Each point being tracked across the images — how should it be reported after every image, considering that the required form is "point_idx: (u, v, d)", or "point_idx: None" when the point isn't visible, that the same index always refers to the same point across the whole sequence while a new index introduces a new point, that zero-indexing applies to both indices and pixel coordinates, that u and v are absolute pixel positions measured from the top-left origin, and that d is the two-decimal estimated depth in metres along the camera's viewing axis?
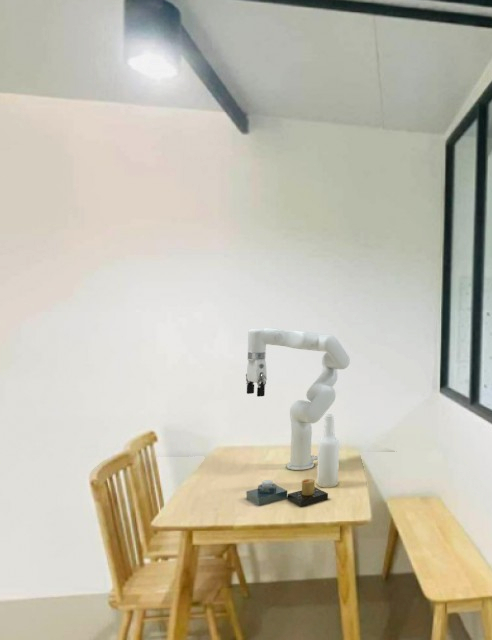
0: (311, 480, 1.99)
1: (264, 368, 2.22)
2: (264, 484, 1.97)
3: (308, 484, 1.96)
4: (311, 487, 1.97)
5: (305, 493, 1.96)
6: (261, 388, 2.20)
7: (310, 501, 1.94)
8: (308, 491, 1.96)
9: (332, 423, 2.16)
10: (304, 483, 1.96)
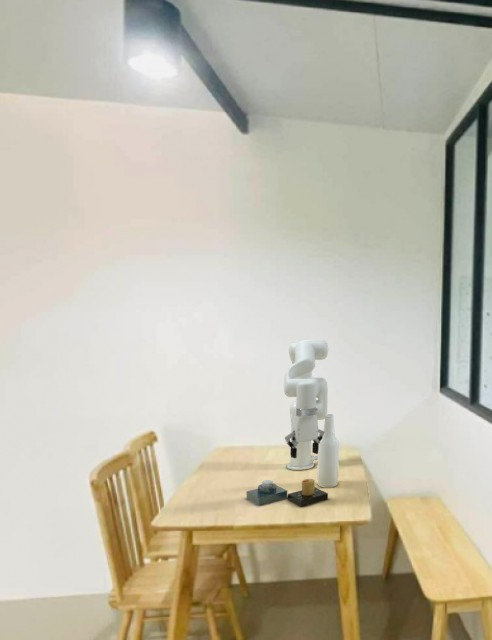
0: (311, 480, 1.99)
1: None
2: (264, 484, 1.97)
3: (308, 484, 1.96)
4: (311, 487, 1.97)
5: (305, 493, 1.96)
6: None
7: (310, 501, 1.94)
8: (308, 491, 1.96)
9: (332, 423, 2.16)
10: (304, 483, 1.96)
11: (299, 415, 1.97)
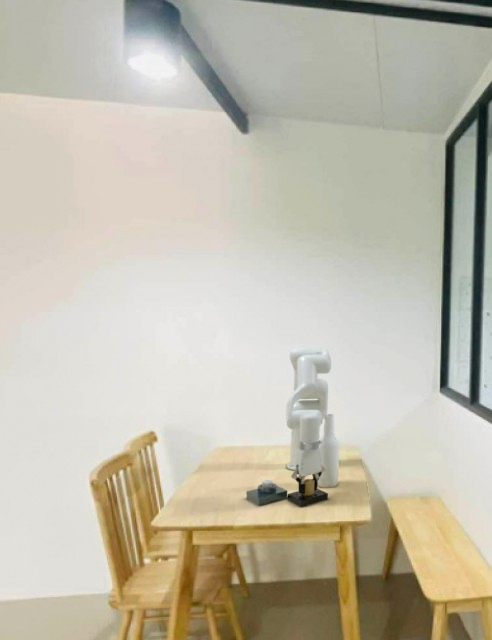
0: (311, 480, 1.99)
1: None
2: (264, 484, 1.97)
3: (308, 484, 1.96)
4: (311, 487, 1.97)
5: (305, 493, 1.96)
6: None
7: (310, 501, 1.94)
8: (308, 491, 1.96)
9: (332, 423, 2.16)
10: (304, 483, 1.96)
11: (303, 449, 1.95)
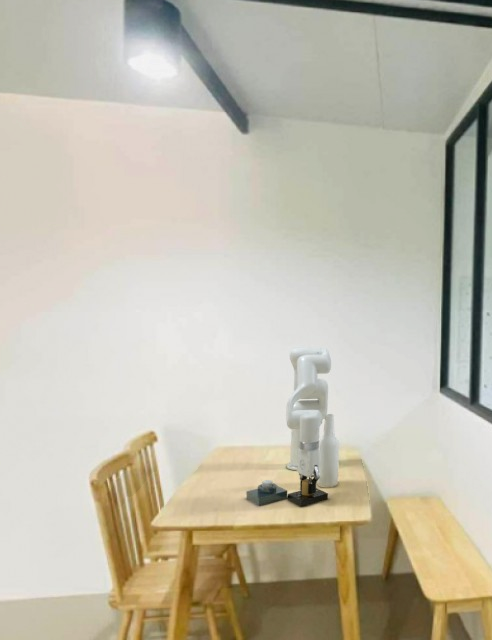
0: (307, 479, 1.99)
1: None
2: (264, 484, 1.97)
3: None
4: None
5: None
6: None
7: (310, 501, 1.94)
8: None
9: (332, 423, 2.16)
10: None
11: (316, 448, 1.97)
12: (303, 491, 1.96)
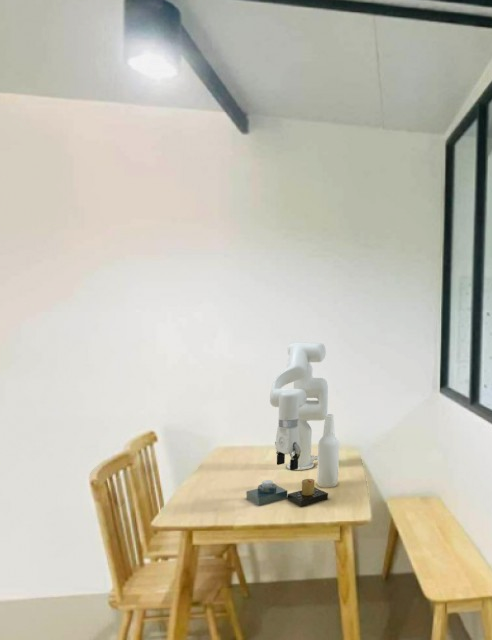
0: (307, 479, 1.99)
1: None
2: (264, 484, 1.97)
3: None
4: None
5: (313, 491, 1.98)
6: None
7: (310, 501, 1.94)
8: None
9: (332, 423, 2.16)
10: (313, 482, 1.97)
11: (295, 426, 1.97)
12: (303, 491, 1.96)
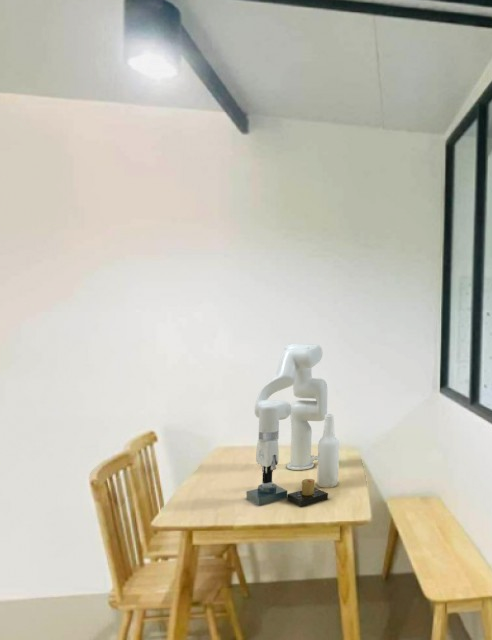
0: (307, 479, 1.99)
1: None
2: (264, 484, 1.97)
3: None
4: None
5: (313, 491, 1.98)
6: None
7: (310, 501, 1.94)
8: None
9: (332, 423, 2.16)
10: (313, 482, 1.97)
11: (275, 438, 1.97)
12: (303, 491, 1.96)
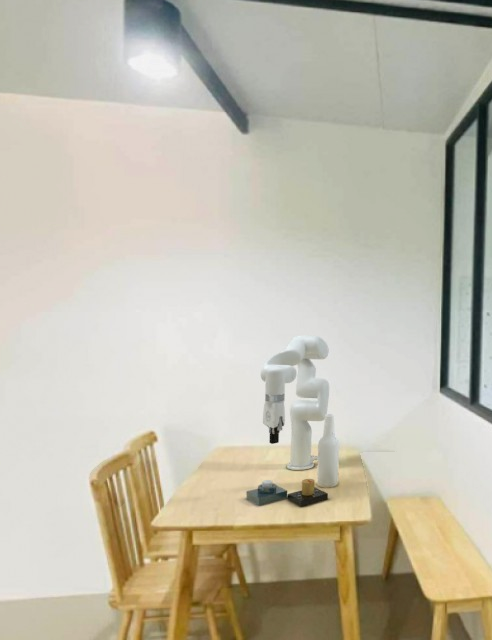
0: (307, 479, 1.99)
1: None
2: (264, 484, 1.97)
3: None
4: None
5: (313, 491, 1.98)
6: None
7: (310, 501, 1.94)
8: None
9: (332, 423, 2.16)
10: (313, 482, 1.97)
11: (282, 400, 2.02)
12: (303, 491, 1.96)
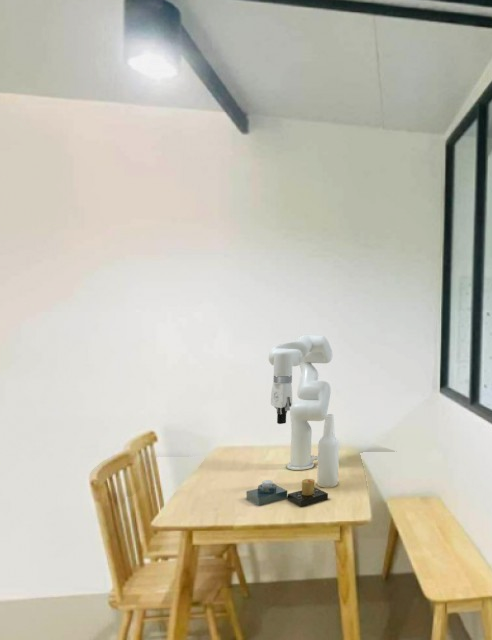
0: (307, 479, 1.99)
1: None
2: (264, 484, 1.97)
3: None
4: None
5: (313, 491, 1.98)
6: None
7: (310, 501, 1.94)
8: None
9: (332, 423, 2.16)
10: (313, 482, 1.97)
11: (289, 382, 2.10)
12: (303, 491, 1.96)
